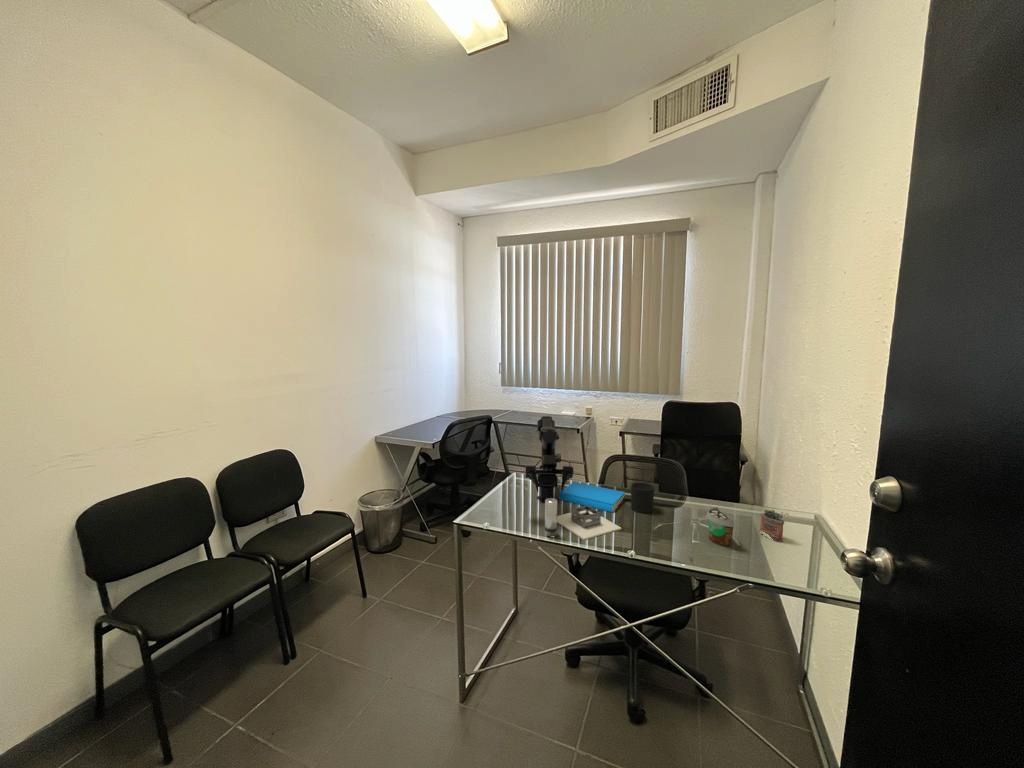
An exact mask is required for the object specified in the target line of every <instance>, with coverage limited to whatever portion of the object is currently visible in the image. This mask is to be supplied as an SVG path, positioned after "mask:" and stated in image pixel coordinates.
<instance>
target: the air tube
mask: <svg viewBox="0 0 1024 768" xmlns="http://www.w3.org/2000/svg"><path fill="white" fill-rule="evenodd" d="M554 498H555V497H554ZM554 498H548V499H545V502H544V536H545V535H546V536H545V537H547V536H556V535H558V534H557V533H558V532H557V531H558V522H557V516H558V499H557V498H556V499H554ZM556 537H557V536H556Z"/></svg>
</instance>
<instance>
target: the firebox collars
mask: <svg viewBox="0 0 1024 768" xmlns="http://www.w3.org/2000/svg"><path fill="white" fill-rule="evenodd" d="M584 510H586V513H582V514H581V513H579V512H580V511H584ZM589 511H590V512H592V513H594V514H590V513H589ZM570 513H571V521H573V522H574V523H576V524H578V525H579V526H581V527H582V528H584V529H585V528H589V527H592V526H596V525H600V524H601V516H602V512H600V511H598V509H596V508H592V507H590V506H588V505H587V506H584V505H582V506H580V507H576V508H571V511H570ZM597 517H598V518H597ZM579 519H583V522H582V521H581V520H579ZM588 519H590V520H592V521H590V522H586V520H588Z"/></svg>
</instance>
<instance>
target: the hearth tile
mask: <svg viewBox="0 0 1024 768" xmlns="http://www.w3.org/2000/svg"><path fill="white" fill-rule="evenodd" d="M579 513H581V514H582V513H586V510H584V511H580V512H579ZM589 513H590V514H594V513H592V512H590V511H589ZM597 518H598V517H597ZM579 520H581V521H582V522H583V519H579ZM590 521H592V520H590V519H588V520H586V522H590ZM557 524H559V525H561V526H562V527H564V528H565V530H568V531H570V532H571V533H572V534H574V535H575V536H577V537H578V538H580V539H581V540H582V541H586V540H589V539H593V538H596V537H599V536H603V535H607V534H610V533H614V532H617V531H620V530H622V527H620V526H619V525H617V524H616V523H614V522H612V521H610V520H608V519H607V518H605V517H603V516H602V515H601V524H600V525H596V526H592V527H589V528H585V529H584V528H582V527H581V526H579V525H578V524H576V523H574V522H573V521H571V512H568V513H563V514H559V515H557Z"/></svg>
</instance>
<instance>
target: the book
mask: <svg viewBox="0 0 1024 768" xmlns="http://www.w3.org/2000/svg"><path fill="white" fill-rule="evenodd" d="M580 483H581V482H577V481H573V482H572V483H570V484H569V485H567V486H566V487H564V489H563V492H562V493H561V490H560V491H559V493H558V500H559V499H560V501H563V500H564V501H565V502H567V503H573V504H575V505H581V506H587V505H588V506H590V507H591V508H593V509H595V510H600V511H601V510H602V511H604V512H609V513H614V512H615V510H617V509H618V507H619V506H620V505H621V504H622V503H621V501H622V500H623V498H624V496H625V497H626V492H625V491H622V490H621V491H620V490H616V489H610V488H606V487H602V486H598V485H592V484H588V483H583V484H580ZM620 503H621V504H620ZM619 504H620V505H619ZM618 505H619V506H618Z"/></svg>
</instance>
